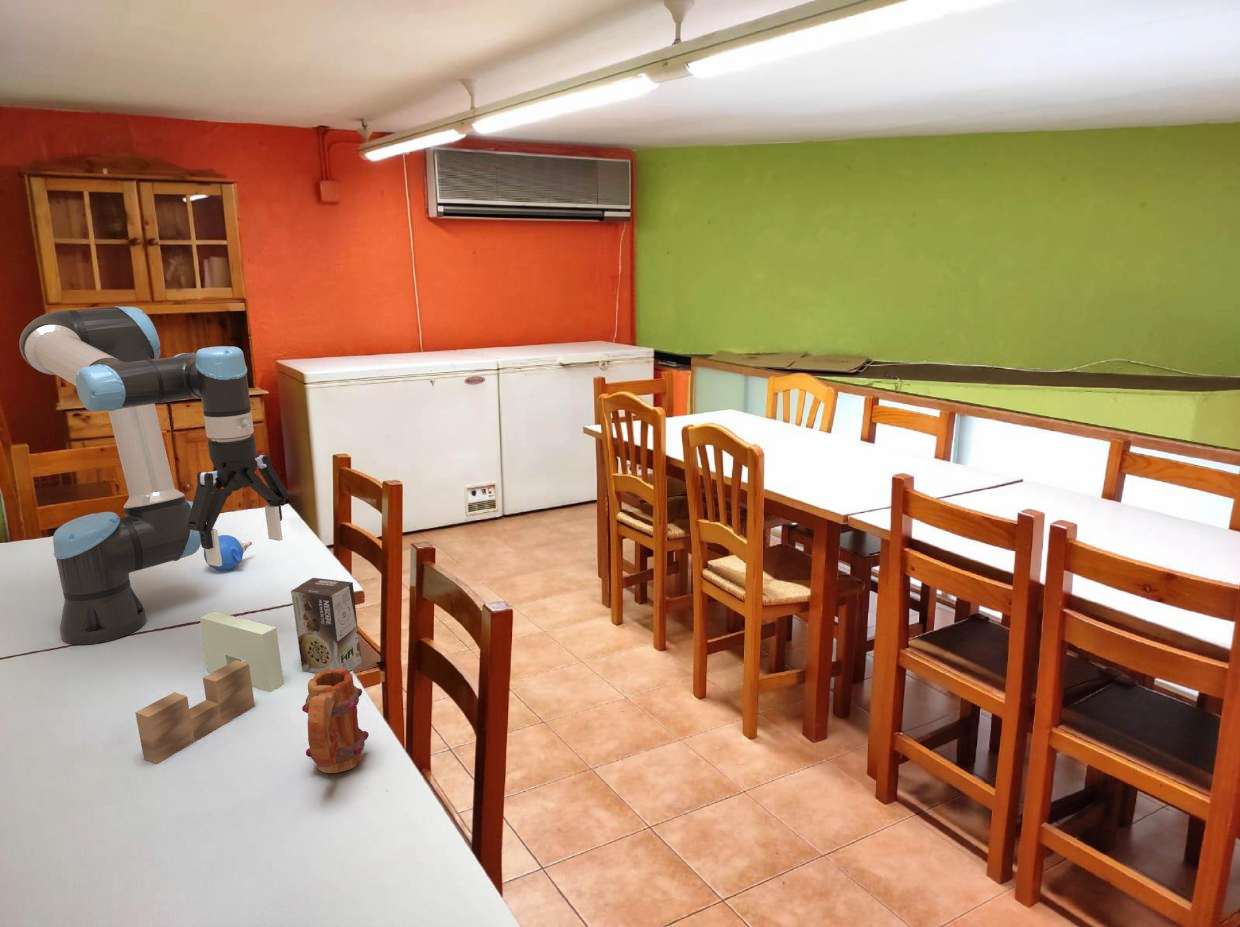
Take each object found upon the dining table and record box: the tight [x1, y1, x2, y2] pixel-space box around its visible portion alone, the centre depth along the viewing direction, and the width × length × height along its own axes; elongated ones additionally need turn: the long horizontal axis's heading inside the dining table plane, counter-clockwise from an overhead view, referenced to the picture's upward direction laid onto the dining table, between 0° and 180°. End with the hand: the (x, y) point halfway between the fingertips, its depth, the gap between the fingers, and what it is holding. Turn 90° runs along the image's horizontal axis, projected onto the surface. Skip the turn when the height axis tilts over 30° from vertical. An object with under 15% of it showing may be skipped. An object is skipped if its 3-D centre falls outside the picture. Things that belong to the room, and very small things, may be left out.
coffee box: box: [290, 577, 362, 674], centre depth 154 cm, size 9×6×16 cm
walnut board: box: [135, 660, 256, 765], centre depth 135 cm, size 18×3×8 cm, turn 153°
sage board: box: [199, 611, 285, 693], centre depth 151 cm, size 16×3×11 cm, turn 63°
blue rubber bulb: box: [203, 534, 253, 572], centre depth 204 cm, size 12×12×8 cm
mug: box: [301, 668, 370, 774], centre depth 122 cm, size 15×8×15 cm, turn 5°
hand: (246, 551), depth 152 cm, fingers open, 13 cm apart
